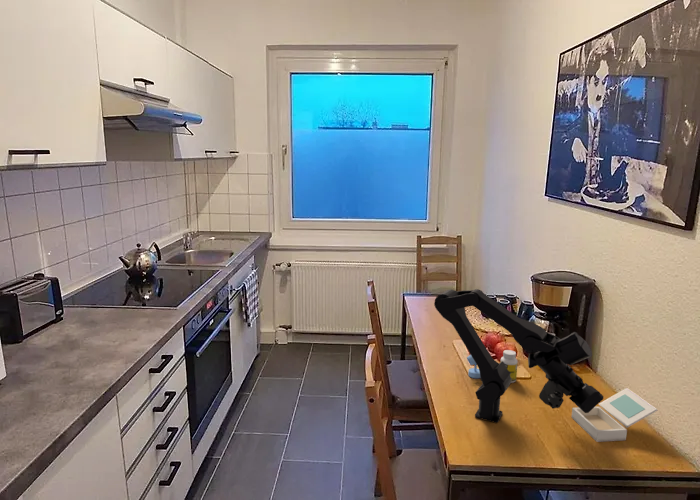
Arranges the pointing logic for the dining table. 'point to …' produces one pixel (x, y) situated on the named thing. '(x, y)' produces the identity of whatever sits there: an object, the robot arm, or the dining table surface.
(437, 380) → the dining table surface
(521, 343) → the robot arm
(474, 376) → the spotlight
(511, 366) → the supplement bottle
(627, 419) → the lid
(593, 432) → the box
